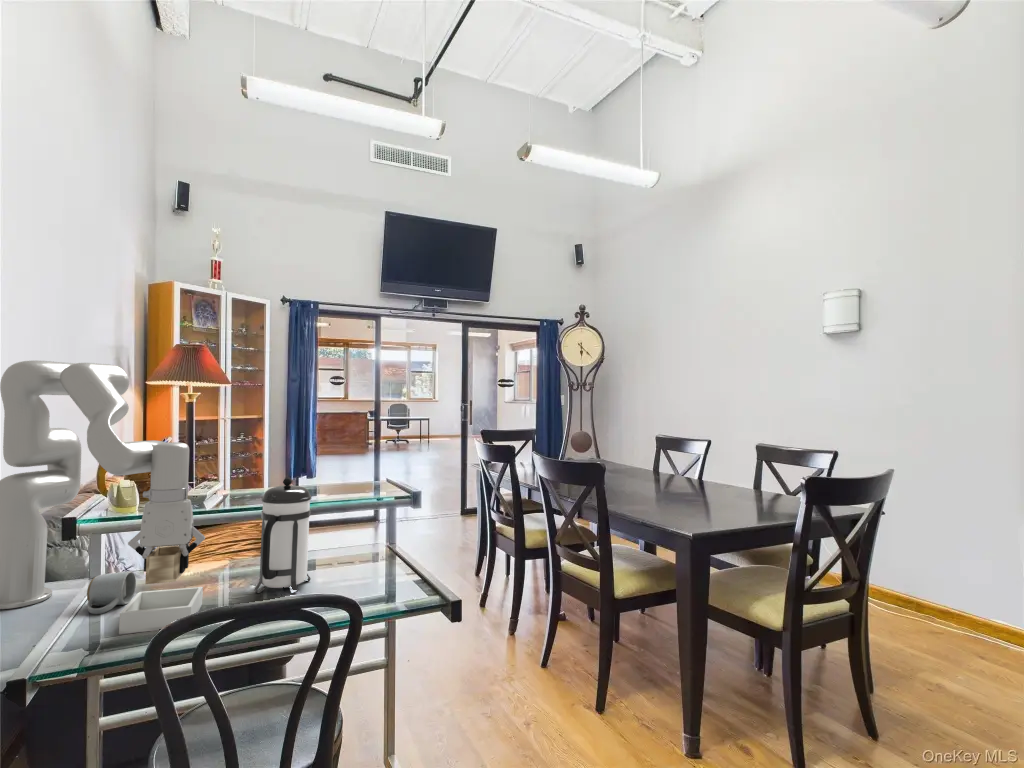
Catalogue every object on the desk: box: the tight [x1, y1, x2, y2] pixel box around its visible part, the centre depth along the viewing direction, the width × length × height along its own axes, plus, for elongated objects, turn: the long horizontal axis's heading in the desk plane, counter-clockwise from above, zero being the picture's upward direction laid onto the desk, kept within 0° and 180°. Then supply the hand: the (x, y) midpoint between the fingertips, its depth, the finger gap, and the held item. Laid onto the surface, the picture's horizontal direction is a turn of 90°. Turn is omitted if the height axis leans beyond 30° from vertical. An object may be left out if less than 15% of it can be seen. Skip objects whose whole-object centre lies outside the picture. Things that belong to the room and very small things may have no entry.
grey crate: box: [118, 586, 204, 635], centre depth 126 cm, size 14×14×4 cm
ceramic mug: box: [86, 570, 137, 615], centre depth 133 cm, size 11×8×8 cm
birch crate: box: [144, 545, 183, 585], centre depth 126 cm, size 6×9×6 cm, turn 20°
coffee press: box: [254, 477, 312, 594], centre depth 148 cm, size 17×16×30 cm
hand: (166, 572), depth 126 cm, fingers closed on birch crate, 6 cm apart
